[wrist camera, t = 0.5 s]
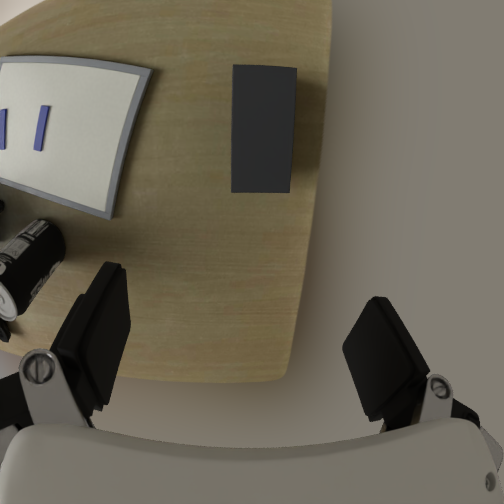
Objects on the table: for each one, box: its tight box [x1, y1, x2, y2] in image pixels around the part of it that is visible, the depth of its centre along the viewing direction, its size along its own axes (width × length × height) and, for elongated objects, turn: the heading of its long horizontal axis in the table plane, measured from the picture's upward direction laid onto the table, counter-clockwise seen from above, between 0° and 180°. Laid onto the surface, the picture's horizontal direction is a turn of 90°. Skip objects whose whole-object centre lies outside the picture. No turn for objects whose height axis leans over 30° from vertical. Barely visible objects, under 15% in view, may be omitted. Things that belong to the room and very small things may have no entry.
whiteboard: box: [0, 56, 154, 220], centre depth 20 cm, size 16×22×1 cm
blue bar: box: [0, 109, 7, 150], centre depth 18 cm, size 5×1×1 cm, turn 168°
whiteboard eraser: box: [231, 65, 297, 193], centre depth 21 cm, size 10×5×6 cm, turn 178°
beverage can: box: [0, 219, 65, 321], centre depth 22 cm, size 7×7×12 cm
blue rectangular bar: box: [33, 105, 50, 152], centre depth 20 cm, size 5×1×1 cm, turn 158°
